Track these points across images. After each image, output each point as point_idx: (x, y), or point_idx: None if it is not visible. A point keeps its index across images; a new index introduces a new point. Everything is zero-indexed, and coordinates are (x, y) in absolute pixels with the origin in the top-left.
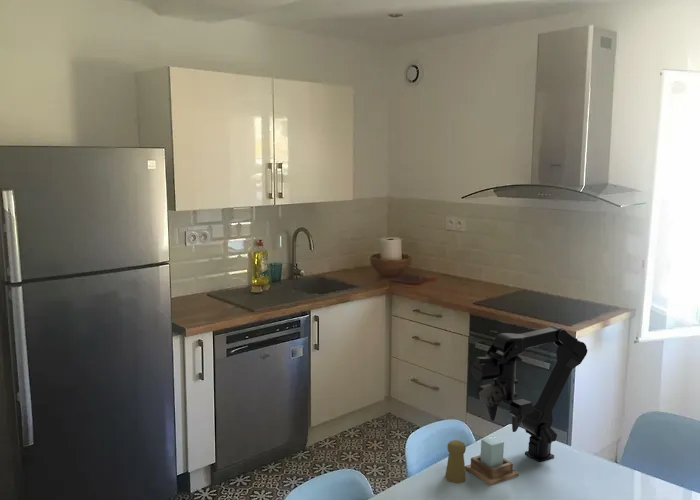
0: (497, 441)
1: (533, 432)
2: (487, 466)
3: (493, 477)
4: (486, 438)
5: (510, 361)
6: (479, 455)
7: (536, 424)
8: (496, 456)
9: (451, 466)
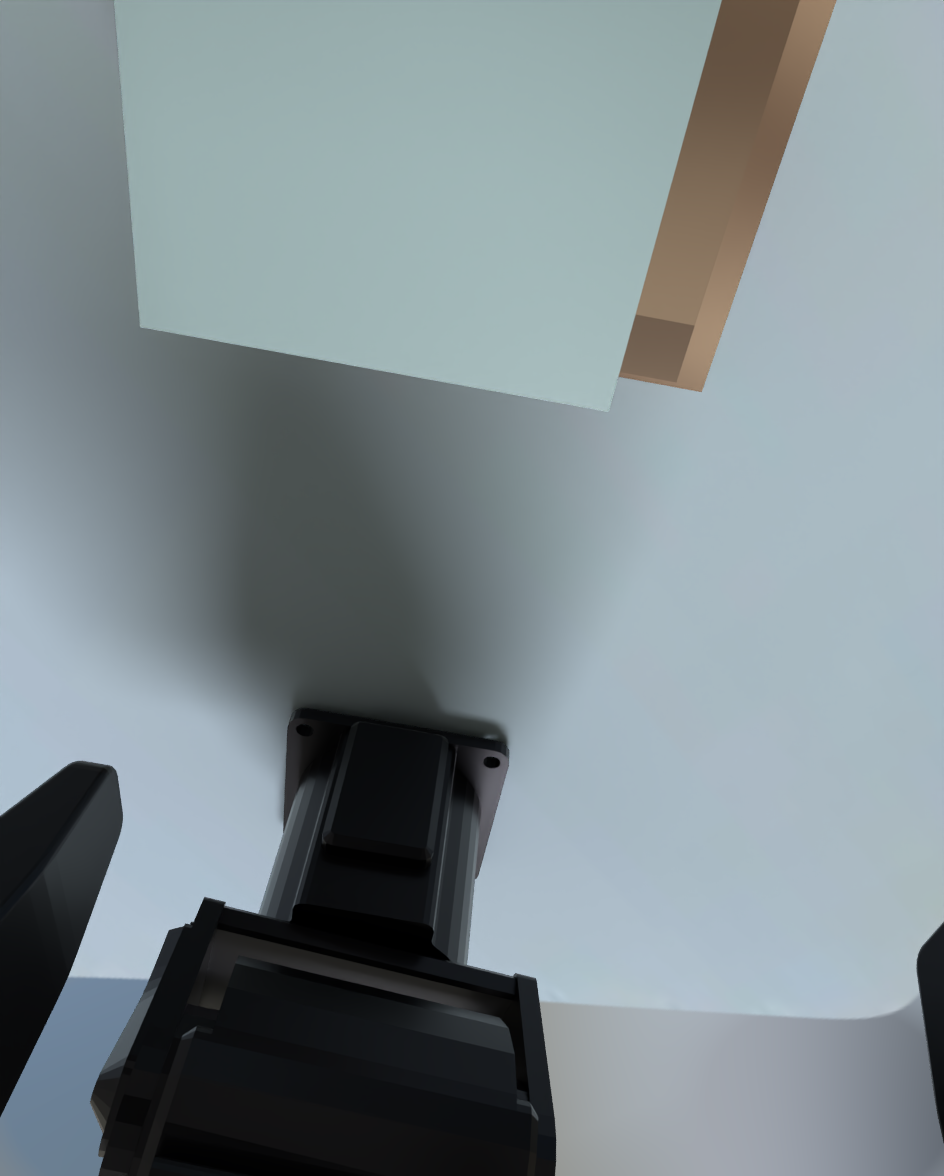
0: (269, 202)
1: (264, 994)
2: None
3: None
4: (660, 76)
5: None
6: (790, 10)
7: (163, 1156)
8: None
9: None
